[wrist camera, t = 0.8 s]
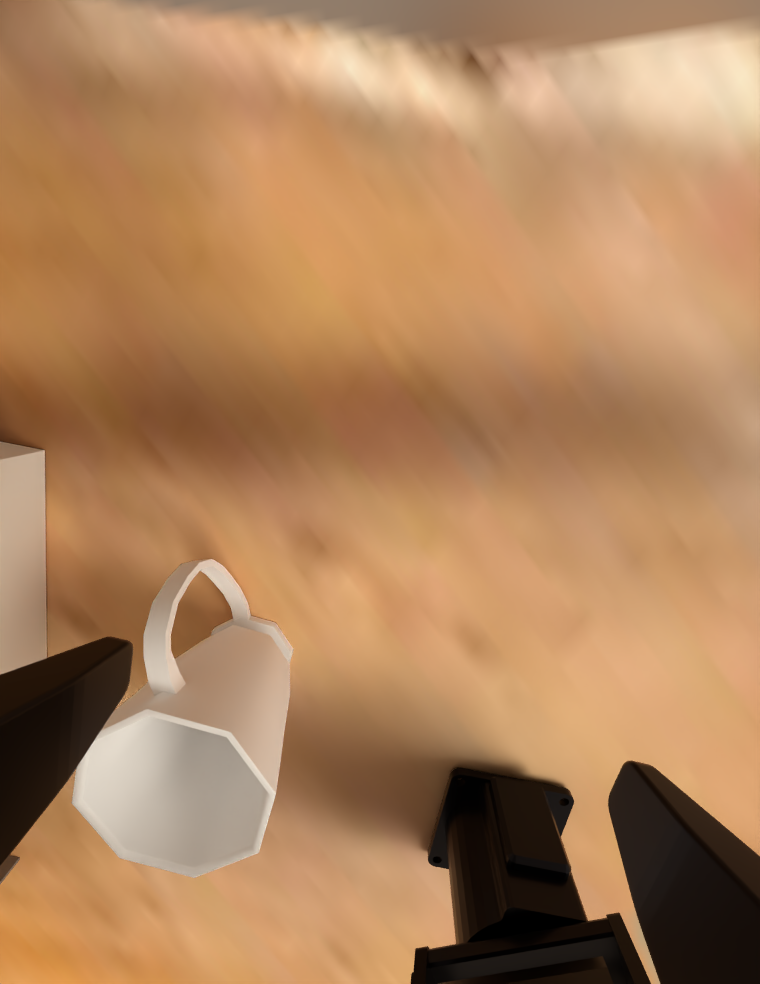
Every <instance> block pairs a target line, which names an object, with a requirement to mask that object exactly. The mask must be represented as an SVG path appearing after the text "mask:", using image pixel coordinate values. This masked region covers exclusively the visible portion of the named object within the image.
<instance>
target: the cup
mask: <svg viewBox="0 0 760 984" xmlns="http://www.w3.org/2000/svg"><path fill="white" fill-rule="evenodd" d="M199 571H201V572H203V573H204V574H206V575H207V576H208V577H209V578H210V579H211V581H212V582H213V583H214V584H215V585H216V586H217V587H218V588H219V590H220V591H221V592H222V593H223V595H224V596H225V598H226V600H227V602H228V604H229V606H230V607H231V611H232V615H233V618H232V619H230V620H228V621H226V622H224V623H222V624H220V625H218V626H216V627H215V628H214V629H213V630H212V633H211V636H210V637H208V638H206V639H204V640H202V641H201V642H199V643H198V644H196V645H195V646H193V647H192V648H190V649H189V650H187V651H186V652H184V653H183V654H181V655H180V656H178V657H177V658H175V659H174V657H173V654H172V652H171V632H172V628H173V624H174V619H175V615H176V611H177V607H178V603H179V601H180V599H181V598H182V596H183V594H184V592H185V591H186V589H187V587H188V585H189V584H190V582H191V581H192V580H193V578H194V577H195V576H196V575H197V573H198V572H199ZM143 638H144V662H145V667H146V672H147V677H148V682H147V683H146V684H145V685H144V686H143V687H142V688H141V689H139V690H138V691H137V692H136V693H135V694H134V695H133V696H131V697H130V698H129V699H128V700H127V701H125V702H124V703H123V704H122V705H121V706H119V707H118V708H117V709H116V710H115V711H114V712H113V713H112V714H111V716H110V717H109V719H108V720H107V722H106V723H105V725H104V727H103V728H102V730H101V731H100V733H99V734H98V736H97V737H96V739H95V740H94V742H93V743H92V745H91V746H90V748H89V750H88V751H87V753H86V754H85V756H84V757H83V759H82V760H81V762H80V763H79V765H78V766H77V768H76V775H75V782H74V789H73V797H72V804H73V805H74V806H75V807H76V809H77V810H78V811H79V812H80V813H81V814H82V816H83V817H84V818H85V819H86V820H87V821H88V822H89V824H90V825H91V826H92V827H93V828H94V829H95V830H96V832H97V833H98V834H99V835H100V836H101V837H102V838H103V840H104V841H105V842H106V843H107V844H108V845H109V846H110V848H111V849H112V850H113V851H114V852H115V853H116V855H117V856H118V857H119V858H121V859H125V860H129V861H133V862H136V863H140V864H144V865H148V866H152V867H155V868H159V869H163V870H167V871H170V872H174V873H178V874H182V875H186V876H189V877H193V878H196V877H198V876H201V875H203V874H206V873H208V872H211V871H214V870H216V869H219V868H221V867H224V866H226V865H229V864H232V863H234V862H237V861H239V860H242V859H244V858H247V857H250V856H252V855H255V854H257V853H259V850H260V847H261V843H262V840H263V836H264V833H265V829H266V826H267V823H268V819H269V816H270V812H271V809H272V806H273V802H274V799H275V795H276V790H277V784H278V777H279V770H280V763H281V755H282V747H283V738H284V731H285V725H286V718H287V712H288V705H289V699H290V661H291V657H292V654H293V650H294V649H293V648H292V646H291V645H290V643H289V642H288V640H287V639H286V637H285V636H284V634H283V633H282V631H281V630H280V628H279V627H278V625H277V624H276V623H275V622H272V621H268V620H265V619H261V618H258V617H254V616H251V614H250V609H249V605H248V602H247V600H246V598H245V596H244V594H243V592H242V590H241V588H240V586H239V585H238V584H237V582H236V581H235V580H234V578H233V577H232V576H231V574H230V573H229V572H228V571H227V570H226V568H225V567H224V566H223V565H221V564H220V563H218V562H216V561H215V560H213V559H204V560H194V561H190V562H186V563H183V564H180V566H179V567H178V568H177V569H176V570H175V571H174V572H173V573H172V574H171V575H170V576H169V577H168V578H167V580H166V582H165V583H164V585H163V586H162V588H161V590H160V591H159V593H158V594H157V596H156V598H155V599H154V601H153V602H152V606H151V609H150V613H149V617H148V620H147V624H146V628H145V631H144V635H143Z"/></svg>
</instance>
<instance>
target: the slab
mask: <svg viewBox="0 0 760 984" xmlns="http://www.w3.org/2000/svg"><path fill="white" fill-rule="evenodd" d="M46 658H47V614H46V514H45V450H41V449H36V448H31V447H26V446H21V445H15V444H10V443H5V442H0V674H3V673H6V672H9V671H12V670H15V669H17V668H20V667H23V666H26V665H29V664H32V663H34V662H37V661H40V660H43V659H46Z"/></svg>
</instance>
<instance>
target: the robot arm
mask: <svg viewBox="0 0 760 984" xmlns="http://www.w3.org/2000/svg"><path fill="white" fill-rule="evenodd" d="M132 655H133V645H132V643H131V642H130V641H128V640H124V639H119V638H115V637H105V638H102V639H99V640H96V641H94V642H91V643H88V644H85V645H82V646H79V647H77V648H74V649H71V650H68V651H65V652H63V653H60V654H57V655H54V656H51V657H48V658H46V659H43V660H40V661H37V662H34V663H32V664H29V665H26V666H23V667H20V668H17V669H15V670H12V671H9V672H6V673H3V674H0V866H1V865H2V864H3V863H4V861H5V860H6V859H7V857H8V856H9V855H10V854H11V852H12V851H13V850H14V849H15V847H16V846H17V845H18V844H19V842H20V841H21V840H22V839H23V837H24V836H25V835H26V833H27V832H28V831H29V830H30V828H31V827H32V826H33V825H34V823H35V822H36V821H37V820H38V818H39V817H40V816H41V814H42V813H43V812H44V811H45V809H46V808H47V807H48V806H49V804H50V803H51V802H52V801H53V799H54V798H55V797H56V795H57V794H58V793H59V791H60V790H61V789H62V788H63V786H64V785H65V784H66V782H67V781H68V779H69V778H70V777H71V775H72V774H73V772H74V771H75V769H76V768H77V766H78V765H79V763H80V762H81V760H82V759H83V757H84V756H85V754H86V753H87V751H88V750H89V748H90V746H91V745H92V743H93V742H94V740H95V739H96V737H97V736H98V734H99V733H100V731H101V730H102V728H103V727H104V725H105V723H106V722H107V720H108V719H109V717H110V716H111V714H112V713H113V711H114V710H115V708H116V707H117V705H118V704H119V702H120V701H121V699H122V697H123V696H124V694H125V692H126V690H127V688H128V685H129V681H130V673H131V664H132ZM459 778H462V779H459ZM573 804H574V800H573V797H572V795H571V792H570V791H569V790H568V789H566V788H563V787H558V786H553V785H547V784H542V783H537V782H532V781H527V780H521V779H516V778H511V777H506V776H500V775H495V774H490V773H485V772H480V771H474V770H469V769H464V768H456V769H454V770H452V771H451V773H450V776H449V779H448V783H447V786H446V790H445V793H444V797H443V800H442V803H441V807H440V810H439V814H438V817H437V821H436V824H435V828H434V831H433V835H432V838H431V842H430V845H429V848H428V861H429V863H430V864H431V865H432V866H435V867H441V868H446V869H449V875H450V886H451V896H452V906H453V917H454V927H455V937H456V944H455V945H449V946H444V947H438V948H432V949H429V947H428V946H427V947H421V948H416V950H415V961H414V972H413V973H412V975H411V984H651V983H650V980H649V978H648V976H647V974H646V971H645V969H644V967H643V965H642V962H641V960H640V958H639V956H638V953H637V951H636V949H635V947H634V944H633V942H632V940H631V938H630V935H629V933H628V931H627V929H626V926H625V924H624V922H623V920H622V917H621V915H620V913H614V914H608V915H606V916H607V918H603V919H597V920H592V921H588V920H587V917H586V914H585V911H584V908H583V905H582V902H581V899H580V896H579V893H578V890H577V888H576V885H575V882H574V879H573V876H572V873H571V866H570V863H569V860H568V857H567V854H566V851H565V848H564V845H563V843H562V840H561V835H562V832H563V830H564V827H565V825H566V822H567V819H568V817H569V814H570V812H571V809H572V807H573ZM608 806H609V813H610V816H611V820H612V824H613V828H614V832H615V835H616V839H617V843H618V847H619V851H620V854H621V858H622V862H623V866H624V870H625V873H626V877H627V881H628V885H629V889H630V892H631V896H632V900H633V903H634V907H635V910H636V913H637V917H638V920H639V923H640V926H641V929H642V932H643V935H644V938H645V941H646V944H647V946H648V949H649V952H650V955H651V958H652V961H653V964H654V966H655V969H656V972H657V975H658V978H659V981H660V984H760V856H759V855H758V854H756V853H755V852H754V851H753V850H752V849H751V848H749V847H748V846H747V845H746V844H745V843H743V842H742V841H741V840H740V839H739V838H737V837H736V836H735V835H734V834H733V833H732V832H730V831H729V830H728V829H727V828H726V827H724V826H723V825H722V824H721V823H720V822H718V821H717V820H716V819H715V818H714V817H713V816H711V815H710V814H709V813H708V812H707V811H705V810H704V809H703V808H702V807H701V806H699V805H698V804H697V803H696V802H695V801H694V800H692V799H691V798H690V797H689V796H688V795H686V794H685V793H684V792H683V791H682V790H680V789H679V788H678V787H677V786H676V785H675V784H673V783H672V782H671V781H670V780H669V779H667V778H666V777H665V776H664V775H663V774H661V773H660V772H659V771H658V770H657V769H656V768H654V767H653V766H651V765H648V764H644V763H640V762H635V761H627V762H625V763H624V764H623V766H622V768H621V770H620V772H619V774H618V777H617V779H616V781H615V783H614V785H613V788H612V790H611V792H610V795H609V800H608Z"/></svg>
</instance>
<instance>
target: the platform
mask: <svg viewBox="0 0 760 984" xmlns="http://www.w3.org/2000/svg"><path fill="white" fill-rule="evenodd" d="M19 860H20V857H15V856H10V855H9V856H8V857H7V859H6V860H5V861H4V863H3V864H2V865H1V866H0V884H1V883H2V881H3V880H4V879H5V878H6V876H7V875H8V874H9V872H10V871H11V870H12V869H13V867H14V866H15V865H16V864H17V862H18V861H19Z"/></svg>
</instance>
